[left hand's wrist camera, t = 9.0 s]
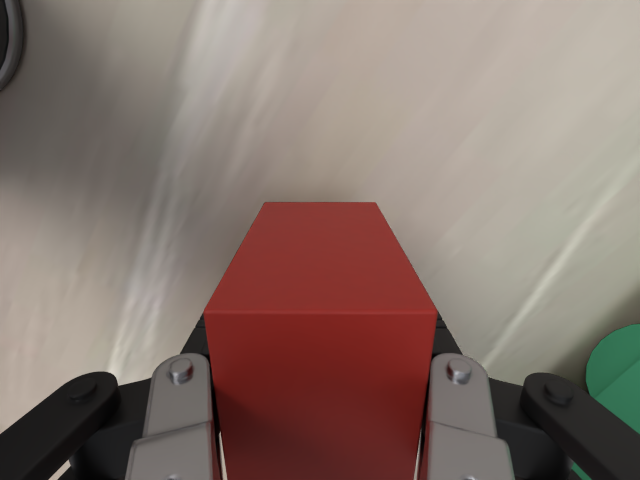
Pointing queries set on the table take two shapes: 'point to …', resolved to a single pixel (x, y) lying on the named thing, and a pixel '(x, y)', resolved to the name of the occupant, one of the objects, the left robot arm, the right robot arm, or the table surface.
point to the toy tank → (616, 377)
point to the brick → (320, 347)
